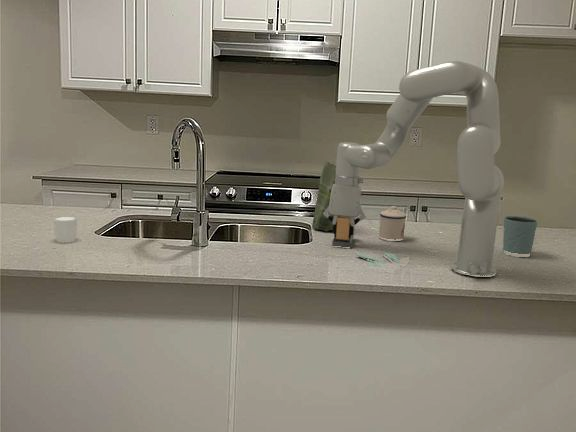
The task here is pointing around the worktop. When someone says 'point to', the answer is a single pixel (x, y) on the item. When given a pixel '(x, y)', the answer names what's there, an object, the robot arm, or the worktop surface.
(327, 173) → the pouch
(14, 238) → the worktop surface
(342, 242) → the rail
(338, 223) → the tan wooden block
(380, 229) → the teacup with lid
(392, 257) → the cloth
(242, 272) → the worktop surface
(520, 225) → the teal plant pot
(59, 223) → the white cylinder
